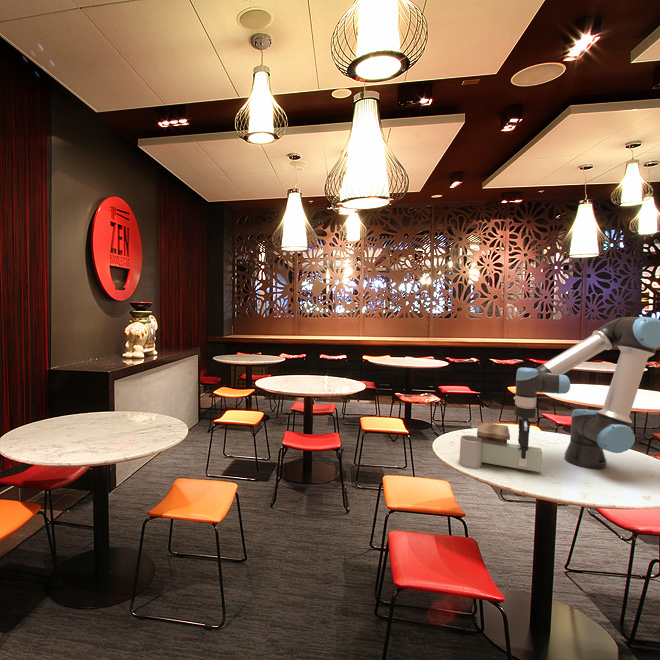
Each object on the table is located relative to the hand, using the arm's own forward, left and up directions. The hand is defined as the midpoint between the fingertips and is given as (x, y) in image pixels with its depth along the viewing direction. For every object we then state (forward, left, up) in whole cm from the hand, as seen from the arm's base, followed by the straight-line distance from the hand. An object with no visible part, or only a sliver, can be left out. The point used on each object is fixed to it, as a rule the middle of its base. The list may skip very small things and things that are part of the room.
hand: (521, 463), depth 154 cm
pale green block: (+4, 0, -1) cm, 5 cm away
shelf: (+11, -1, -3) cm, 12 cm away
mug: (+19, +2, -3) cm, 20 cm away
